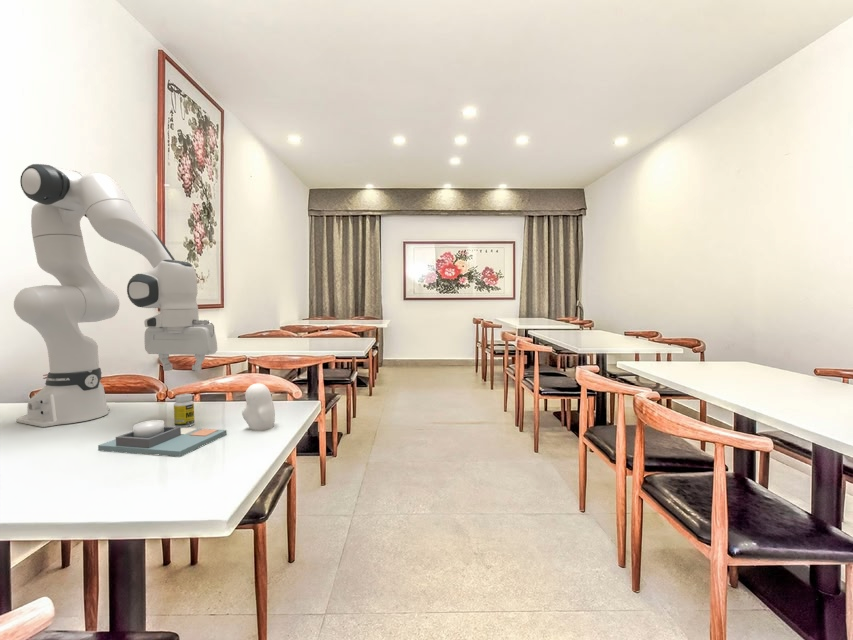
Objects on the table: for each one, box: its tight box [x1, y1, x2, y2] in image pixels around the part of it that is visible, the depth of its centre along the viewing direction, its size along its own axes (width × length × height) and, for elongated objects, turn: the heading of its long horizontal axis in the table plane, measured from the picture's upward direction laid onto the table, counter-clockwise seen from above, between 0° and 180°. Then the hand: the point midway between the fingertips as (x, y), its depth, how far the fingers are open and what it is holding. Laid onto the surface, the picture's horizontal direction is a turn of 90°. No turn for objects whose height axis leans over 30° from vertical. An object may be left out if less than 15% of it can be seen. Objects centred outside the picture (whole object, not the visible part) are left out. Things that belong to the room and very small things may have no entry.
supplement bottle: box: [173, 393, 196, 428], centre depth 113 cm, size 5×5×8 cm
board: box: [97, 425, 228, 457], centre depth 100 cm, size 22×15×3 cm
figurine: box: [241, 383, 276, 431], centre depth 111 cm, size 7×8×12 cm
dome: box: [132, 419, 165, 438], centre depth 98 cm, size 6×6×4 cm
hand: (182, 370), depth 113 cm, fingers open, 8 cm apart
